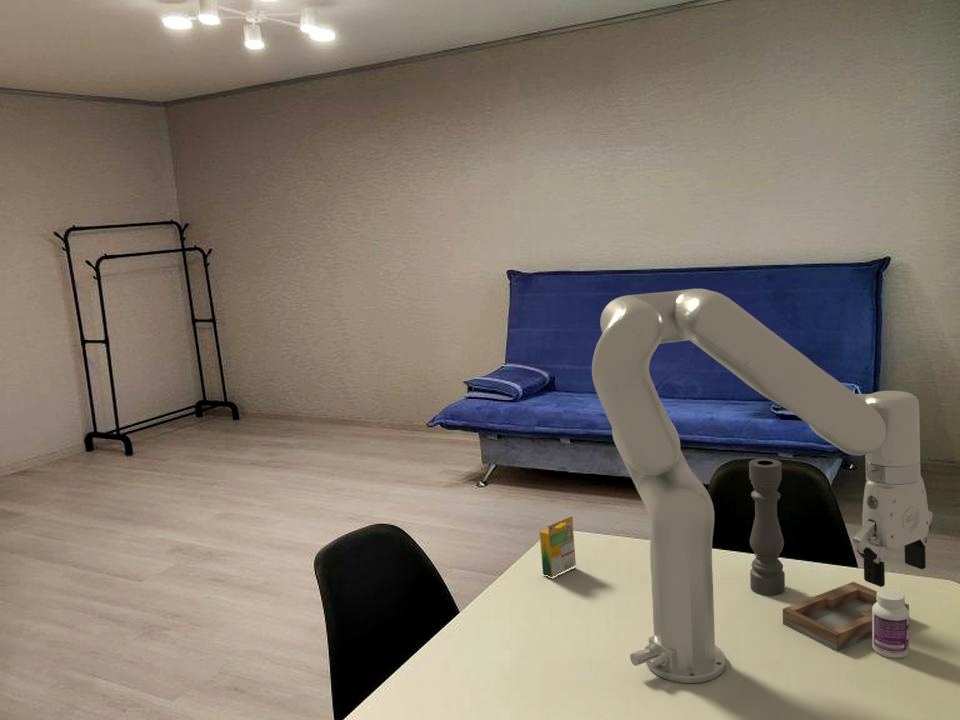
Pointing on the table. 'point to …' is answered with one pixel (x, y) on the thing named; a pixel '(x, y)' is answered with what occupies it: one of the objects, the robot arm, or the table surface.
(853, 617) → the brown wooden tray
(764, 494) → the candle holder
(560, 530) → the crayon box
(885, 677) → the table surface
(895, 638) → the pill bottle
